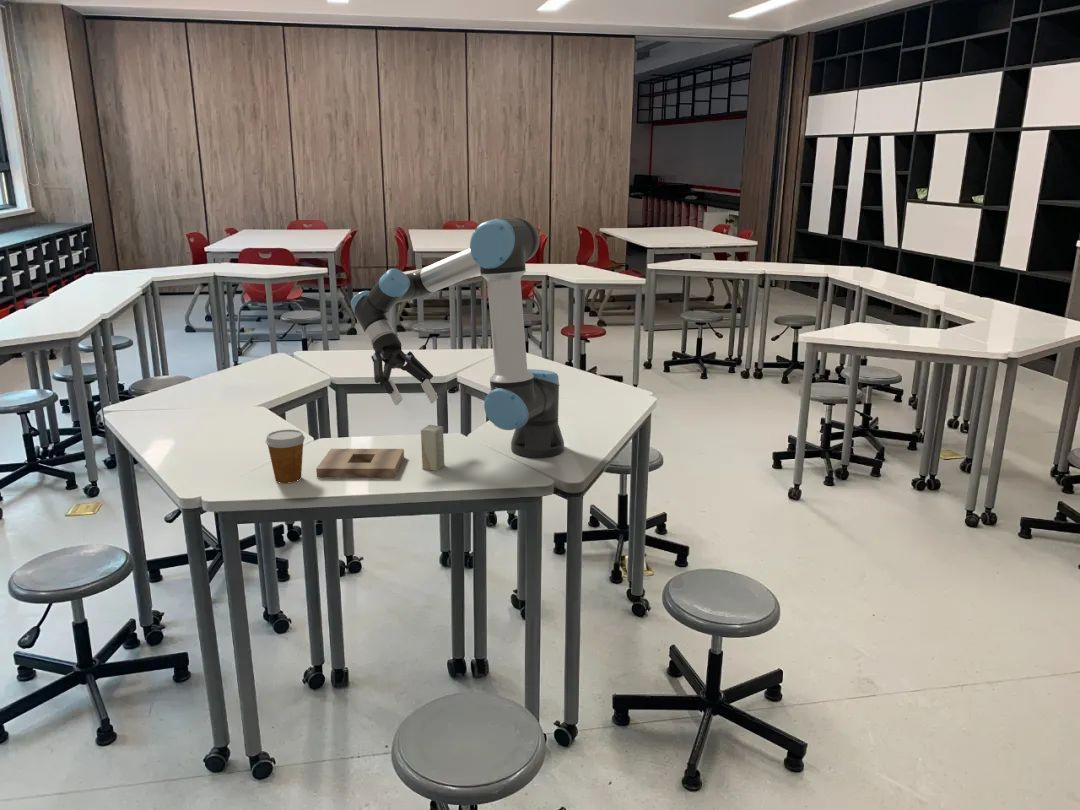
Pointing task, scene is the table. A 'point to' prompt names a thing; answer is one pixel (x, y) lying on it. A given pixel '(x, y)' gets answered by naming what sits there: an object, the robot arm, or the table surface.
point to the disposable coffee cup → (286, 454)
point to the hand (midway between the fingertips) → (417, 401)
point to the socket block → (361, 463)
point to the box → (432, 447)
